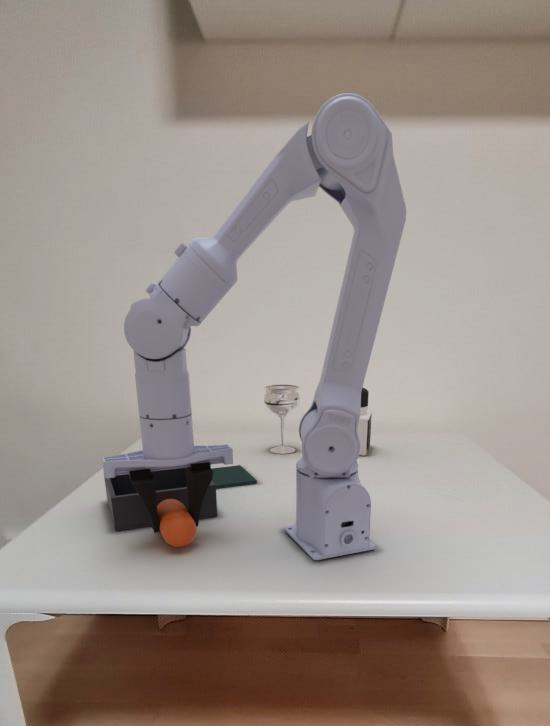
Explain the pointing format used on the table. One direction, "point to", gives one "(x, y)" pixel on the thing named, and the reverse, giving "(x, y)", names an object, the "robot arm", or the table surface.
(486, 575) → the table surface
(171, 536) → the orange lobed capsule
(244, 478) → the pad
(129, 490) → the basin
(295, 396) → the wineglass
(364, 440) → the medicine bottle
